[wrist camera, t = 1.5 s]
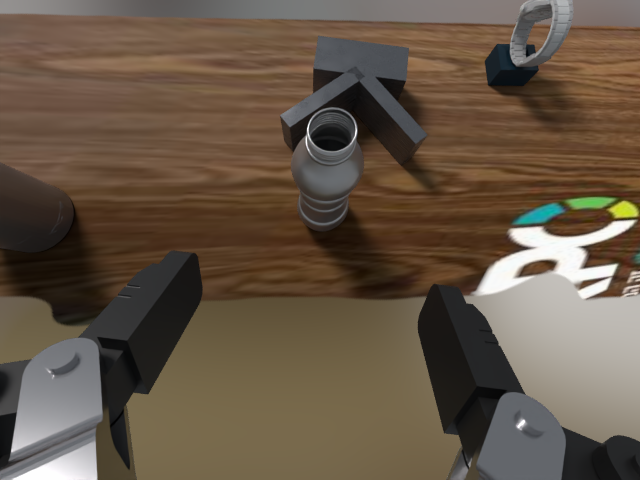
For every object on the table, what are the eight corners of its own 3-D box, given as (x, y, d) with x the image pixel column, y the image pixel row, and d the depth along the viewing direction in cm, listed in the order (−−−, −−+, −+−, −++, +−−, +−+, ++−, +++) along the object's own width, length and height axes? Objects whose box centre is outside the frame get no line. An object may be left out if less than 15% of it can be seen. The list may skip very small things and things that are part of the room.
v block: (282, 149, 42) (278, 125, 36) (296, 67, 45) (294, 32, 39) (410, 166, 42) (427, 145, 36) (416, 83, 45) (432, 51, 39)
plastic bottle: (356, 212, 41) (398, 130, 21) (320, 245, 40) (329, 192, 20) (323, 179, 42) (335, 72, 22) (287, 211, 41) (266, 128, 21)
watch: (517, 50, 47) (579, -24, 36) (525, 95, 45) (592, 32, 34) (482, 50, 47) (534, -25, 36) (488, 95, 45) (544, 31, 34)
